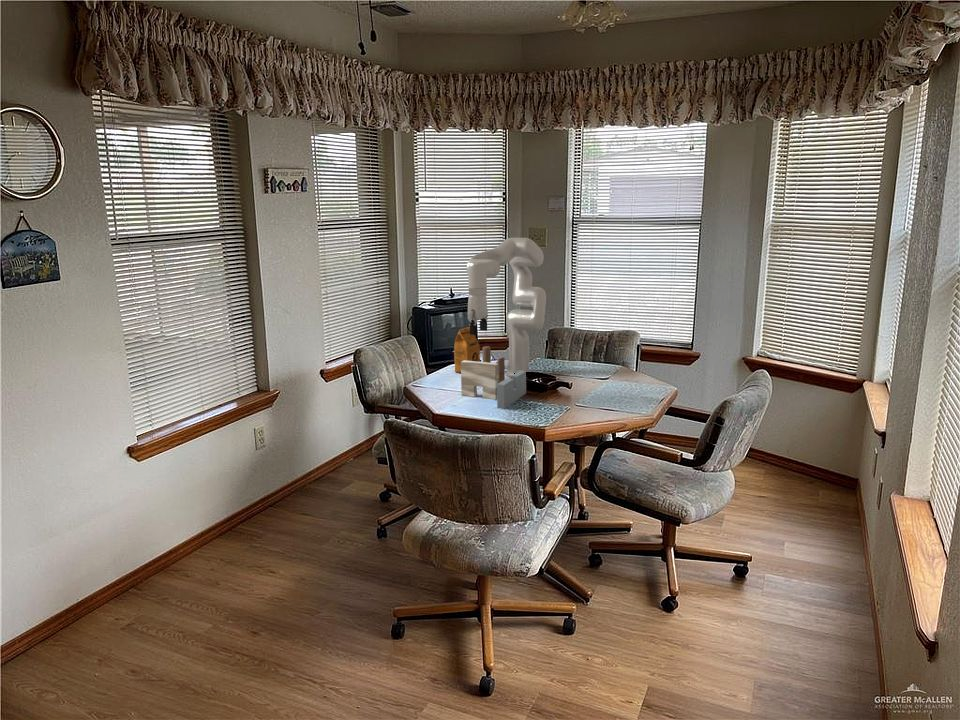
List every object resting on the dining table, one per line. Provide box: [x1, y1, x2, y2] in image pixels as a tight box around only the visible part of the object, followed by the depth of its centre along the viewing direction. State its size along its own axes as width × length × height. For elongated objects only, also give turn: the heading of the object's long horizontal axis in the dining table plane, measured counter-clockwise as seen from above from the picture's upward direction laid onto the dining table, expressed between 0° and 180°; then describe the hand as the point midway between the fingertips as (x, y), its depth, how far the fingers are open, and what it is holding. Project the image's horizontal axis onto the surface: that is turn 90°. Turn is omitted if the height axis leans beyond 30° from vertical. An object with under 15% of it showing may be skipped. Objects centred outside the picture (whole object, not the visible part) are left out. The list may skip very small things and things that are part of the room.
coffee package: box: [453, 326, 481, 374], centre depth 328 cm, size 10×12×22 cm
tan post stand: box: [481, 345, 506, 384], centre depth 301 cm, size 4×11×18 cm, turn 52°
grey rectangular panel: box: [496, 370, 527, 410], centre depth 281 cm, size 24×3×10 cm, turn 155°
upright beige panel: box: [460, 360, 498, 401], centre depth 286 cm, size 3×16×15 cm, turn 65°
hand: (478, 332), depth 281 cm, fingers open, 9 cm apart
